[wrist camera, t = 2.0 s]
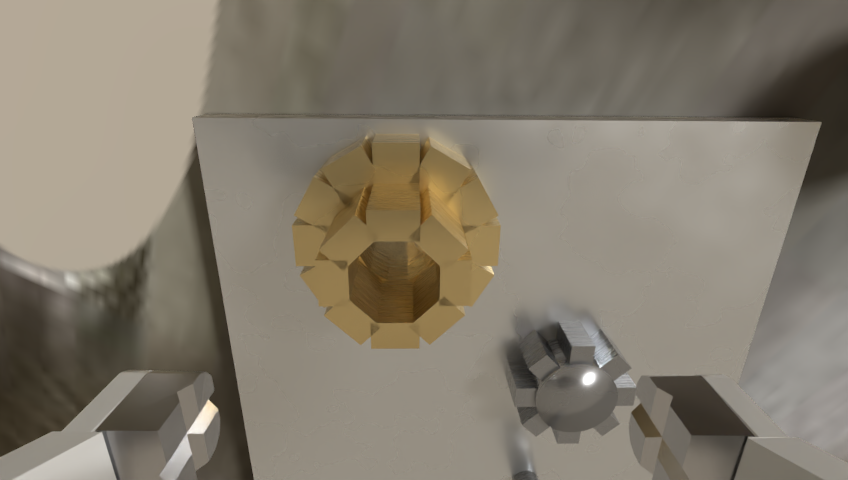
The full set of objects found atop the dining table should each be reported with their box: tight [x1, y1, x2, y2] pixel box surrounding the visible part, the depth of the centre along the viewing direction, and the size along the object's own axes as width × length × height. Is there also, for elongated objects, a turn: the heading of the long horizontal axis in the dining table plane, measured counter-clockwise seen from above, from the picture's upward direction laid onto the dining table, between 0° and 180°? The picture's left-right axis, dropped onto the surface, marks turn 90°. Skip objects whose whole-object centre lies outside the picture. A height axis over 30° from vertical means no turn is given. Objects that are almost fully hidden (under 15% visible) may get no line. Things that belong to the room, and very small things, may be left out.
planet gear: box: [292, 134, 501, 349], centre depth 15 cm, size 7×7×5 cm
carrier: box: [192, 114, 822, 480], centre depth 19 cm, size 22×20×5 cm
